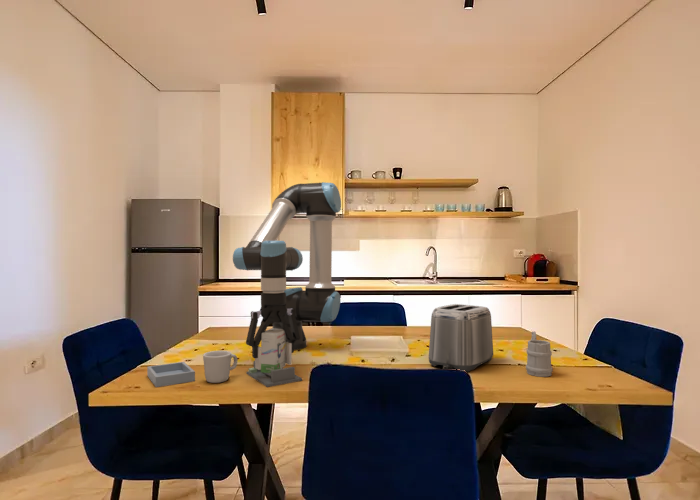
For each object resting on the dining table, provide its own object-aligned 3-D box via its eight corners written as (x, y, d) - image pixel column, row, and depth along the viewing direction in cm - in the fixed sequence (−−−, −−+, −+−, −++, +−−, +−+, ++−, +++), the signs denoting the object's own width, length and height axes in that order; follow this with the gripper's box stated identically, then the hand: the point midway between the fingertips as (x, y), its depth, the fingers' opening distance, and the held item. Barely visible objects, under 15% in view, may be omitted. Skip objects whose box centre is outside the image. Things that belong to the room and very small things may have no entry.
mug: (529, 376, 132) (529, 337, 132) (519, 366, 144) (519, 330, 144) (556, 377, 131) (556, 337, 131) (544, 367, 143) (544, 330, 143)
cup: (228, 373, 136) (228, 347, 136) (244, 378, 131) (244, 351, 131) (197, 381, 128) (197, 353, 128) (213, 386, 123) (213, 358, 123)
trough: (183, 370, 139) (183, 361, 139) (194, 381, 128) (194, 371, 128) (147, 375, 134) (147, 366, 134) (155, 387, 122) (155, 377, 122)
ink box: (270, 365, 137) (270, 327, 137) (286, 366, 136) (286, 328, 136) (259, 373, 128) (259, 332, 128) (276, 374, 127) (276, 333, 127)
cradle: (279, 368, 142) (279, 356, 142) (302, 380, 128) (302, 367, 128) (246, 373, 136) (246, 361, 136) (267, 387, 122) (267, 373, 122)
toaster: (501, 359, 154) (500, 305, 154) (463, 378, 131) (463, 314, 131) (456, 352, 164) (456, 301, 165) (415, 368, 142) (414, 309, 142)
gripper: (300, 289, 141) (300, 358, 141) (233, 292, 129) (233, 368, 129) (311, 290, 135) (311, 363, 135) (242, 294, 123) (242, 374, 123)
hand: (273, 366), depth 132 cm, fingers closed on ink box, 9 cm apart
